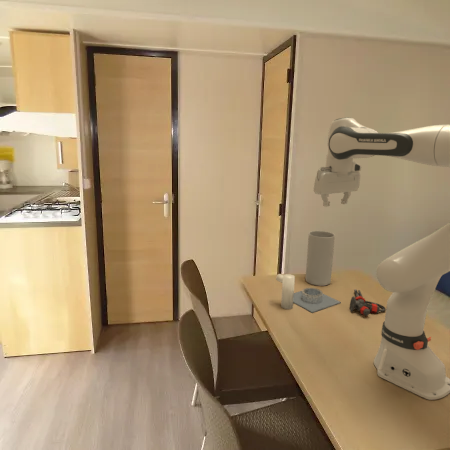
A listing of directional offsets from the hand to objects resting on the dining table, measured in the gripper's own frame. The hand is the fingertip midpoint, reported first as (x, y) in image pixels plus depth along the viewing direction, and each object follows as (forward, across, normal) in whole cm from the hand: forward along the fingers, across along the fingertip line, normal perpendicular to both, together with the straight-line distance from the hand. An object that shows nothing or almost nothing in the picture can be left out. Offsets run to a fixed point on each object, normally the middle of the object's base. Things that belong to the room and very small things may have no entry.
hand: (335, 205), depth 132 cm
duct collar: (+48, +13, +19) cm, 53 cm away
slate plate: (+48, +13, +19) cm, 53 cm away
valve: (+49, +30, +3) cm, 57 cm away
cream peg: (+48, -1, +22) cm, 53 cm away
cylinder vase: (+48, +32, +33) cm, 67 cm away
